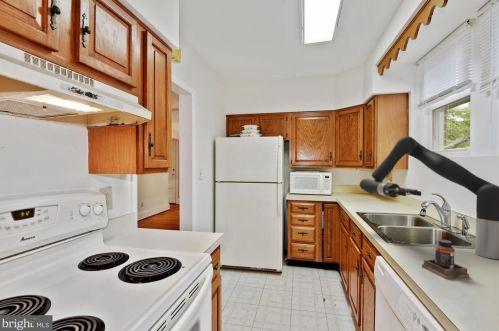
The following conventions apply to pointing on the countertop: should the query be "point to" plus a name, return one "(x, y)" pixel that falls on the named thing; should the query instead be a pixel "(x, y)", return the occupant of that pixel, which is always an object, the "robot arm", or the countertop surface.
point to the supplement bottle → (444, 254)
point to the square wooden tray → (445, 270)
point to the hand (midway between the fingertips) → (413, 193)
